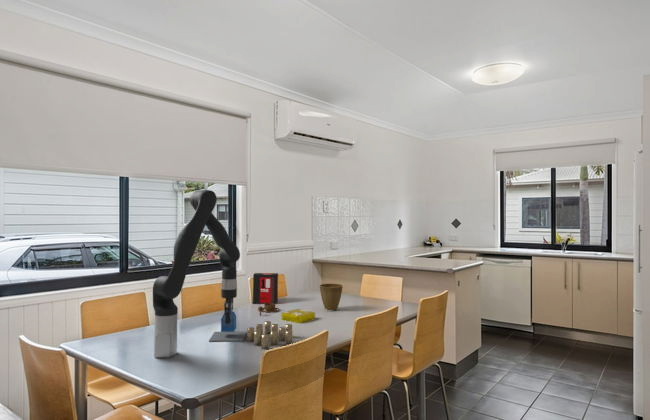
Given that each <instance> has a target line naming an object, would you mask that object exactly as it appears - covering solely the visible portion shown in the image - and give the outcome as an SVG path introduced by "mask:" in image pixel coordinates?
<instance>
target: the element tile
mask: <svg viewBox="0 0 650 420" xmlns="http://www.w3.org/2000/svg"><path fill="white" fill-rule="evenodd" d="M312 319H314V320H315V319H316V312H315V311H310V310H305V309H300V308H296V309H295V308H294V309H291V310H288V311H283V312H281V320H282V321H285V320H286V322H289V321H291V322H290V323H294V322H295V324H303V323H302V322H304V323H307V322H310V321H309V320H311V321H313V320H312ZM306 321H307V322H306Z"/></svg>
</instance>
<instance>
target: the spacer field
mask: <svg viewBox="0 0 650 420" xmlns="http://www.w3.org/2000/svg"><path fill="white" fill-rule="evenodd" d="M246 329H247V331H246V335H247V337H246V340H247V342H250V343H251V342H253V345H254V346H255V347H256V346H261V350H263V349H266V350H269V347H270V346H277V345H278V341H279V342H285V345H286V346H288V345H287V344H291V343H292V344H293V324H292V323H285V326H281V327H279V324H278V323H272V321H270V320H265V321H264V324H263V323H257V324H256V327H252V326H251V327H247V328H246ZM269 337H270V338H269ZM269 341H270V343H269ZM269 344H270V346H269Z"/></svg>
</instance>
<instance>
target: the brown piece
mask: <svg viewBox="0 0 650 420" xmlns="http://www.w3.org/2000/svg"><path fill="white" fill-rule="evenodd" d="M264 309H265V310H264ZM275 309H278V310H275ZM257 311H258V312H259V317H261V316H262V313H264V312H266V313H265V314H267V313H269V314H272V313H271V312H275V313H278V312H279V311H280V308H278V307H276V304H274V303H266V304H263V306H258V308H257ZM277 311H278V312H277Z"/></svg>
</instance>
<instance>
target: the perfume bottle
mask: <svg viewBox="0 0 650 420" xmlns="http://www.w3.org/2000/svg"><path fill="white" fill-rule="evenodd" d="M232 309H233V310H234V307H233V308H232ZM226 313H229V311H227V312H226ZM230 314H231V315H230V323H229V324H226V323H225V315H224V313H223V315H222V316H221V319H220V332H234V331H236V329H237V315H236V313H235V312H234V311H231V313H230Z"/></svg>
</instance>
